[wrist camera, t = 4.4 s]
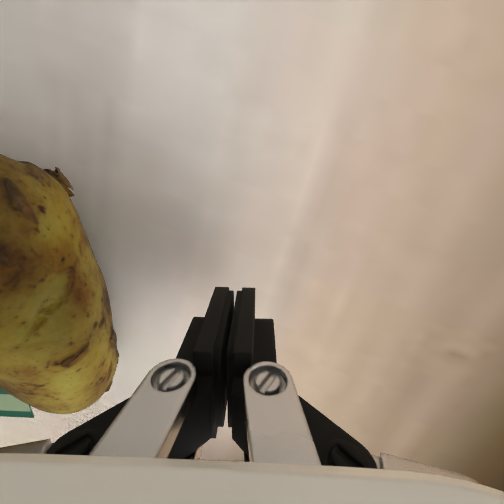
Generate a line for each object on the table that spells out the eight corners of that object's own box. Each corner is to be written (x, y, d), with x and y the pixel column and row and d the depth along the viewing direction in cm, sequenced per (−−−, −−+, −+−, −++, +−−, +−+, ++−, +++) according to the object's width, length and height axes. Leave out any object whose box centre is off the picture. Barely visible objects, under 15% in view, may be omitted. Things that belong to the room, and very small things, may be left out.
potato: (-2, 331, 17) (-219, 477, 9) (13, 120, 12) (-375, 66, 5) (127, 373, 17) (25, 538, 10) (182, 188, 13) (78, 233, 6)
